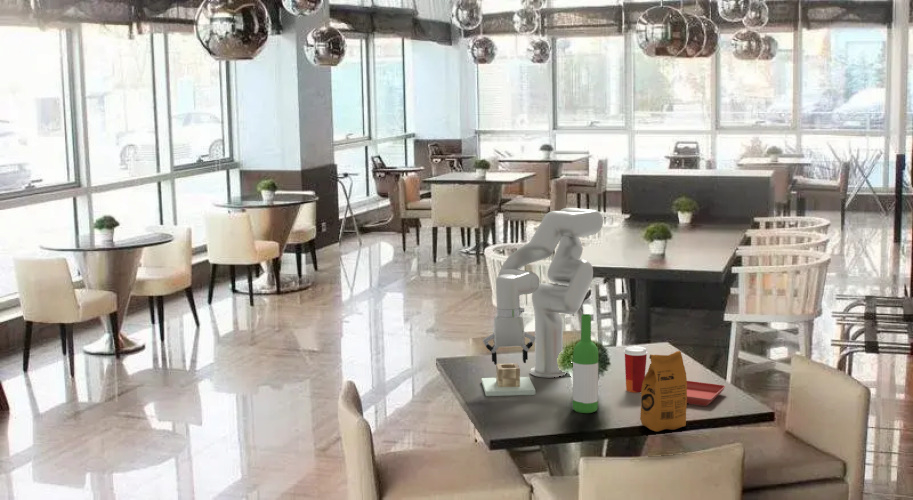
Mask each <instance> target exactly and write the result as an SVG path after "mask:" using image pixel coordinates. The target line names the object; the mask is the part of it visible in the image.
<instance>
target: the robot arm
mask: <svg viewBox="0 0 913 500" xmlns="http://www.w3.org/2000/svg"><path fill="white" fill-rule="evenodd" d="M603 224H604V219H603V215H602V214H601V212H600V211H598V210H597V209H596V210H595V209H588V208H576V207H564V208H562V209H559V210H553V211H549V212H547V213H546V214H545V215H544V217H543V219H542V220H541V222H540V223H539V226H537V229H536V231H535V233H534V234H533V236H532V237H531V239H530V240H529V242H528V243H526V244H524V245H522V246H520V248H518V249H517V250H515V251H514V252H512V253H511V254H510V255H509V256H508V257H507V258H506V260H505V261H504V263H503V265H502V266H501V268H500V270H499V272H498V276H497V277H496V278H495V279H496V280H495V293H496V296H495V298H496V315H495V316H494V318H493V327H492V328H493V332H492V333H491V334H489V335H488V336H486V337H484V338H483V339H482V342H483V344H484V346H485V347H486V349H487V350H488V351H490V352H491V362H493V364H494V365H495V366H496V364H498V360H497V359H498V357H497V354H498V353H497V350H498V349H499V348H512V347H515V348H516V347H521V348H522V362H523V363H524V364H526V363H527V361H528V351H530V349H531V348H532V346H533V345H534V367H531V368H530V370H529V373H530V374H531V375H532V376H534V377H537V378H543V379H544V378H545V379H546V378H548V379H551V378H552V379H553V378H554V377H555V378H560V377H559V376H561V377H563V376H562V375H564V374H565V372H562V371H561V370H559V368H558V364H557V358H558V355H559V353H560V352H561V351H562V352H563V340H564V338H563V332H564V331H563V329H564V328H563V326H564V325H563V319H562V317H561V315H560V314H565V315H575V314H576V313H577V312H578V311H579V310H580V308H581V307H582V304H583V302H584V300H585V298H586V296H587V293H588V291H589V289H590V287H591V284H592V281H593V278H594V269H593V266H592V263H590V261H588V260H586V259H581V257H582V254H583V250H584V249H583V244H582V242H581V239H580V238H584V237H589V236H593V235H594V236H595V235H596V234H598V233H599V232H600V231H601V230H602V229H603V226H604V225H603ZM557 246H558V247H557ZM555 249H556V251H555ZM554 251H555V254H554V255H553V253H554ZM552 255H553V258H552V260H551V262H550V264H549V266H548V269H547V278H548V280H549V281H550V282H551V283H550V282H542V283H541V281H540V277H539V275H538V274H536V273H535V272H533V271H530V270H523V269H522V268H524V267H525V266H528V265H529V264H532V263H536V262H540V261H543V260H545V259H548V258H550V257H551V256H552ZM530 294H531V300H532V301H531V302H532V307H533V311H534V335H532V334H530V333H528V332H526V331H525V326H524V318H523V315H522V313H525V308H524V307H521V303H520V301H521V300H520V299H521V298H520V296H521V295H522V296H523V295H530ZM526 338H527V339H529V341H528V342H527V343H526ZM491 340H492V341H493V345H490V343H489V342H490V341H491ZM564 376H565V375H564ZM555 378H554V379H555Z"/></svg>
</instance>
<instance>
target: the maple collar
mask: <svg viewBox="0 0 913 500" xmlns="http://www.w3.org/2000/svg"><path fill="white" fill-rule="evenodd" d="M495 366H496V370H495V373H496V376H495V378H496V382H497V384H498V387H520V377H521V368H520V366H519V364H518V363H515V362H514V363H513V362H512V363H497V364H496V365H495Z"/></svg>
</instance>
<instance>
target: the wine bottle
mask: <svg viewBox="0 0 913 500" xmlns="http://www.w3.org/2000/svg"><path fill="white" fill-rule="evenodd" d="M580 322H581V324H580V326H581V327H580V329H581V330H580V341H578V342H577V343H576V345H574V348H573V353H572V356H573V357H572V363H573V368H572V409H573V411H575V412H576V413H580V414H591V413H595V412H596V411H597V410H598V409H599V408H598V406H599V403H598V402H599V349H598V347H597V345H596V344H595V343H594V342H593V341H592V315H591V314H590V313H589V314H588V313H584V314H583V313H582V314H581V321H580Z"/></svg>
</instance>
